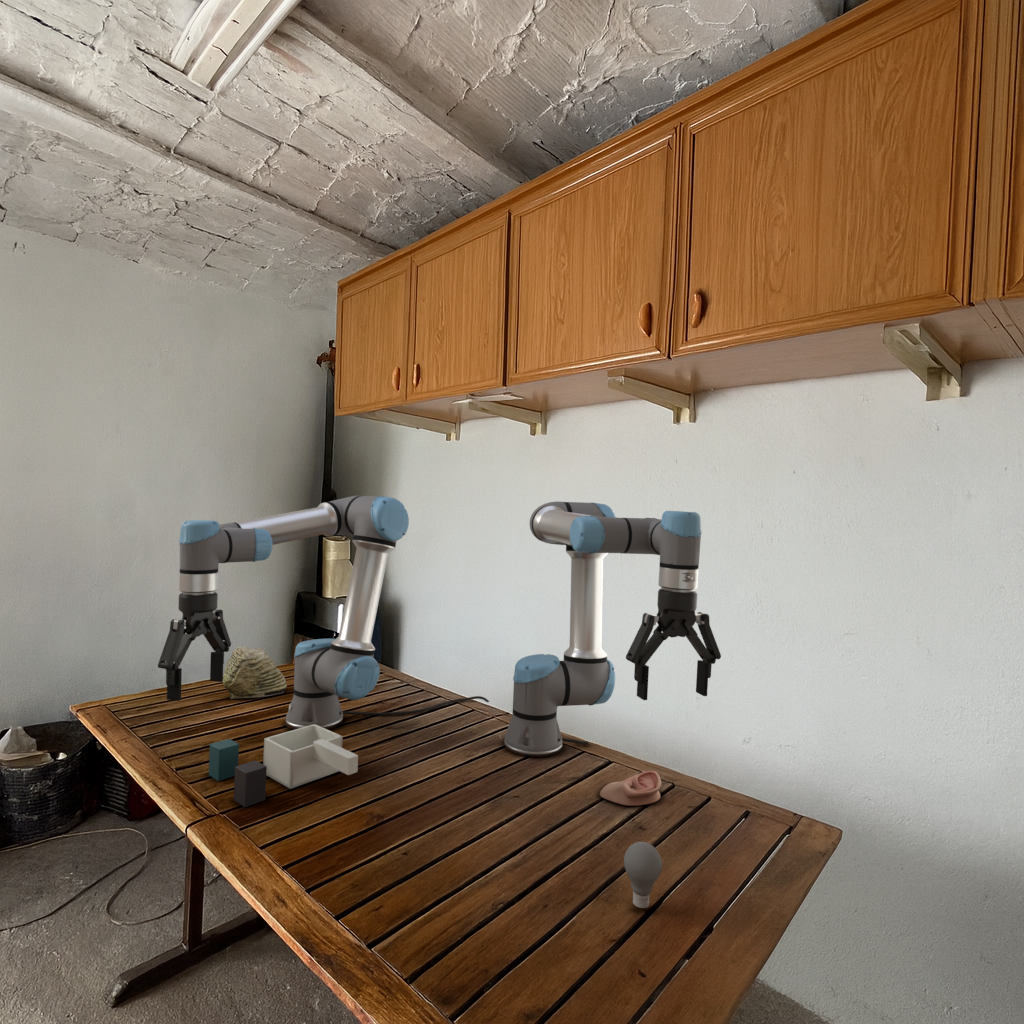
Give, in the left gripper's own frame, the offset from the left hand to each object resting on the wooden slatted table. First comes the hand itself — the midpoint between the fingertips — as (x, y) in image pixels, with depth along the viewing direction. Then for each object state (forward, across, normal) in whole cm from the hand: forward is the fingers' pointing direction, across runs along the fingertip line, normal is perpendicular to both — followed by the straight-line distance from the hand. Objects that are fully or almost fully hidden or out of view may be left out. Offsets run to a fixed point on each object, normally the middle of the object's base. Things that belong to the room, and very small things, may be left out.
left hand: (196, 690), depth 137 cm
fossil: (+21, -58, -23) cm, 65 cm away
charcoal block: (+20, +3, +16) cm, 26 cm away
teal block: (+20, -5, +3) cm, 21 cm away
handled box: (+21, -9, +25) cm, 33 cm away
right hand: (-6, -7, +100) cm, 101 cm away
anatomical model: (+21, -21, +93) cm, 98 cm away
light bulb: (+21, +18, +95) cm, 99 cm away
